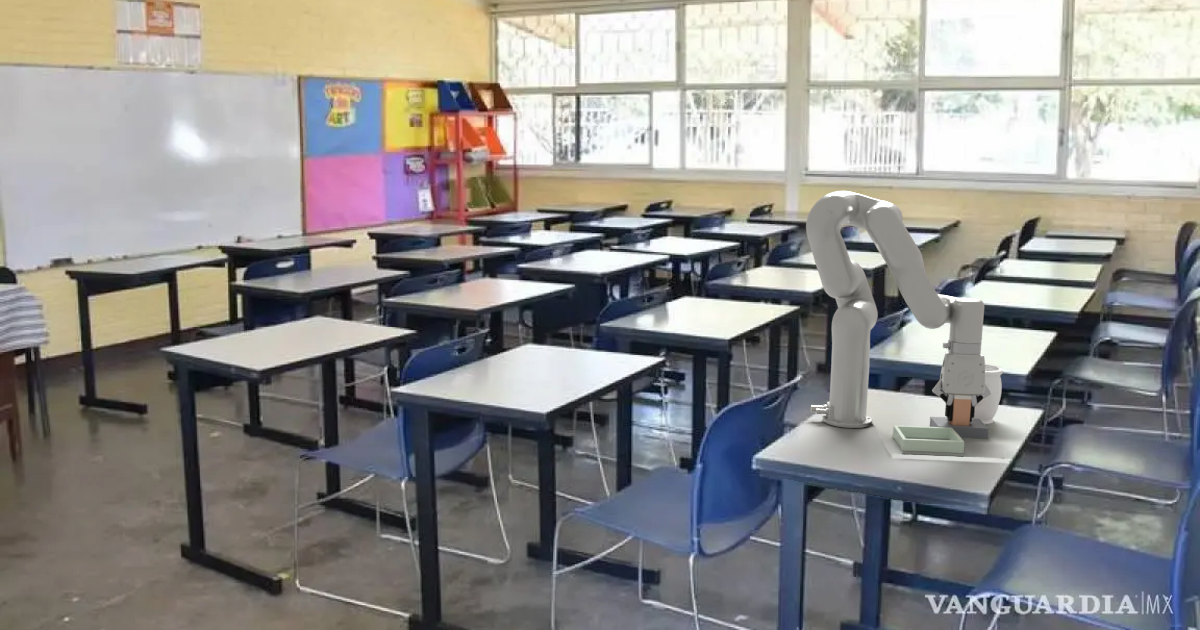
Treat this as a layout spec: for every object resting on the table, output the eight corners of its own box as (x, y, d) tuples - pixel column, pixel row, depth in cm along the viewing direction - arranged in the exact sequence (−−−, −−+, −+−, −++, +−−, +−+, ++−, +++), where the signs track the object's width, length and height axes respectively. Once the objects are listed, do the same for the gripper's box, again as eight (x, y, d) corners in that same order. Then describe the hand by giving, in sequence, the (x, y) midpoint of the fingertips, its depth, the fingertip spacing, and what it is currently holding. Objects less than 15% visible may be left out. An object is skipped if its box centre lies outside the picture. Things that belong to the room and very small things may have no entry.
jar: (992, 418, 275) (997, 363, 272) (1003, 429, 265) (1008, 372, 262) (951, 417, 276) (955, 362, 273) (960, 427, 266) (965, 370, 263)
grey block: (937, 440, 254) (938, 426, 254) (929, 430, 263) (930, 416, 262) (987, 442, 253) (988, 428, 253) (977, 432, 262) (978, 418, 261)
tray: (902, 454, 242) (903, 439, 242) (892, 439, 254) (893, 425, 254) (963, 456, 241) (964, 441, 241) (950, 441, 253) (952, 427, 252)
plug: (951, 434, 256) (954, 394, 254) (948, 429, 260) (951, 391, 258) (968, 434, 256) (971, 395, 254) (964, 430, 260) (967, 391, 258)
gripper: (933, 350, 251) (928, 422, 254) (1004, 352, 250) (998, 425, 253) (926, 344, 259) (921, 414, 262) (995, 346, 257) (989, 417, 260)
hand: (959, 419), depth 257 cm, fingers closed on plug, 4 cm apart
